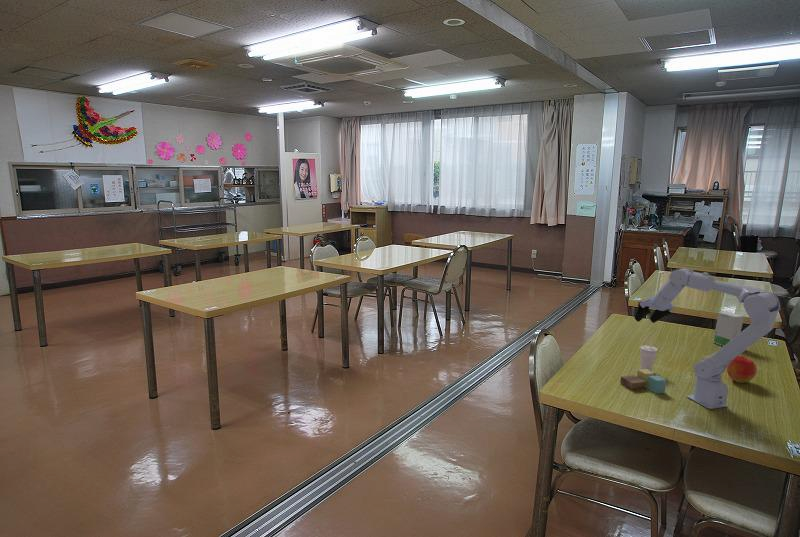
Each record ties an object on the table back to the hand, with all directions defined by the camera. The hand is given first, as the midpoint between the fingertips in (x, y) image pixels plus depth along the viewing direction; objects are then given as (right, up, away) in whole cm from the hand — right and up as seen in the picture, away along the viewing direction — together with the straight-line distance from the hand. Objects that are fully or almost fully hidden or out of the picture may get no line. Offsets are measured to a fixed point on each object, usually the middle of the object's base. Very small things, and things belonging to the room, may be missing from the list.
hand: (644, 320), depth 181 cm
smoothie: (+5, -22, +9) cm, 24 cm away
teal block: (0, -25, -9) cm, 27 cm away
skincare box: (+60, -16, +40) cm, 74 cm away
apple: (+37, -24, 0) cm, 44 cm away
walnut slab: (-7, -24, -5) cm, 26 cm away
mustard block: (-1, -24, -3) cm, 24 cm away
